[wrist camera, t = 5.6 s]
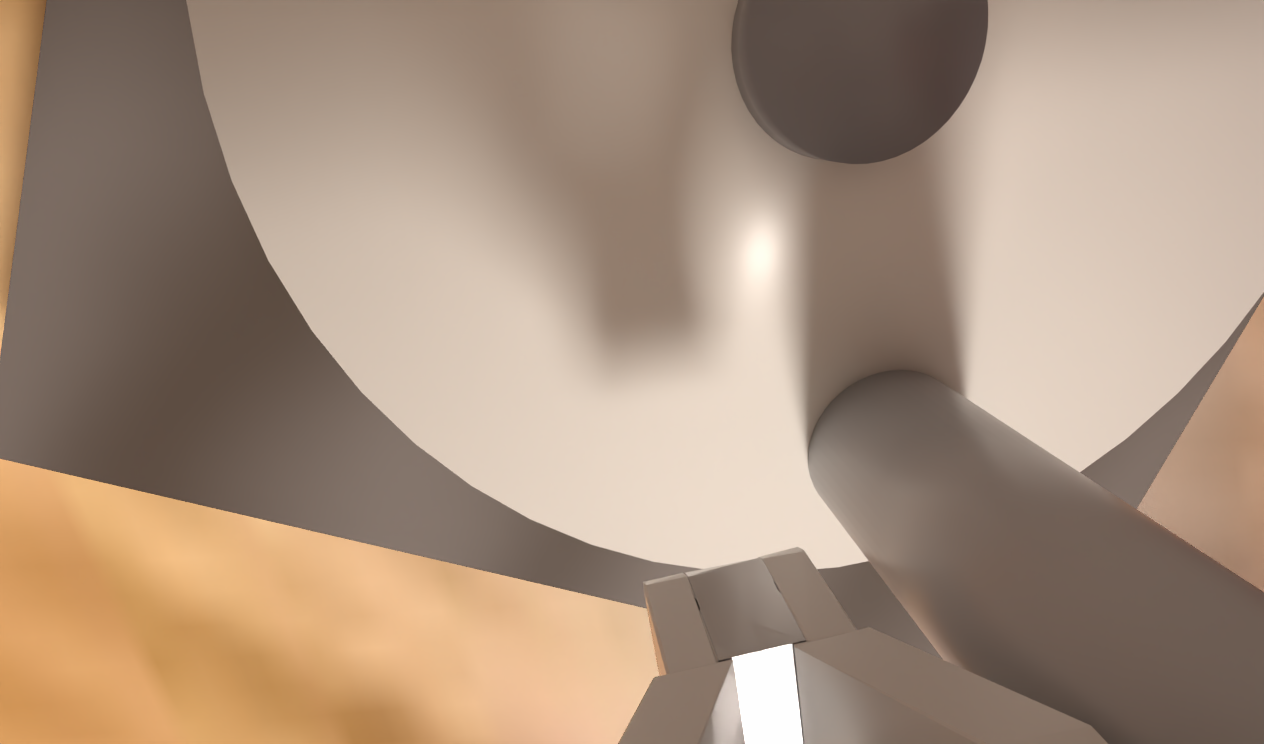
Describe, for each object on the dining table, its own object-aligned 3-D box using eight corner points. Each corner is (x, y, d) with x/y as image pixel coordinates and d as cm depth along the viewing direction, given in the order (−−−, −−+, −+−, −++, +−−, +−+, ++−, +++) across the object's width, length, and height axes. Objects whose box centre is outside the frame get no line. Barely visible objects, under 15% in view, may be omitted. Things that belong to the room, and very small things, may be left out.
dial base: (61, 409, 14) (-35, 469, 11) (307, -1165, 9) (223, -1645, 6) (973, 635, 18) (1039, 713, 16) (1505, -311, 13) (1720, -405, 11)
